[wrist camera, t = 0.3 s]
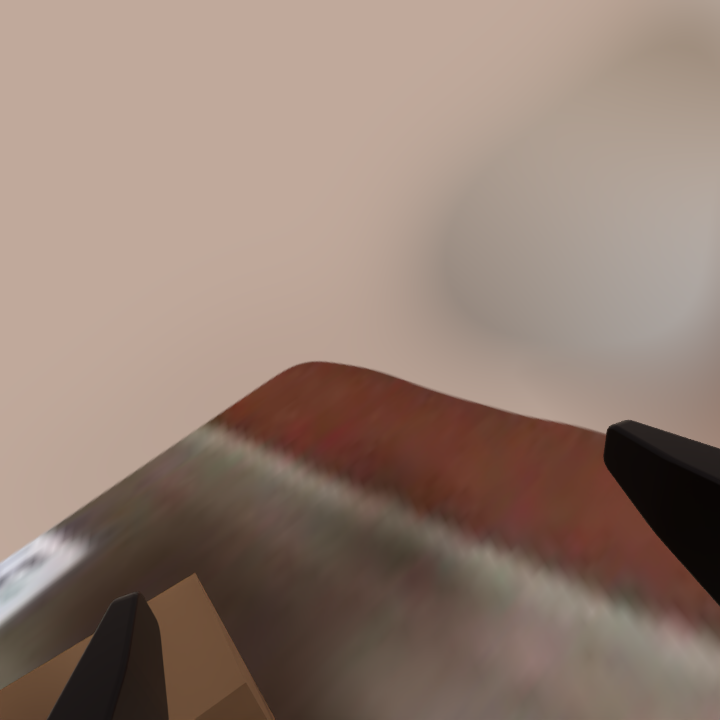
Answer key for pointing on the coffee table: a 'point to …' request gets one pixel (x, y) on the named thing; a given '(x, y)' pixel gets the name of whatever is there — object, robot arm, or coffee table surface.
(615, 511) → the coffee table surface
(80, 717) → the robot arm
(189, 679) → the tan cardboard brick
